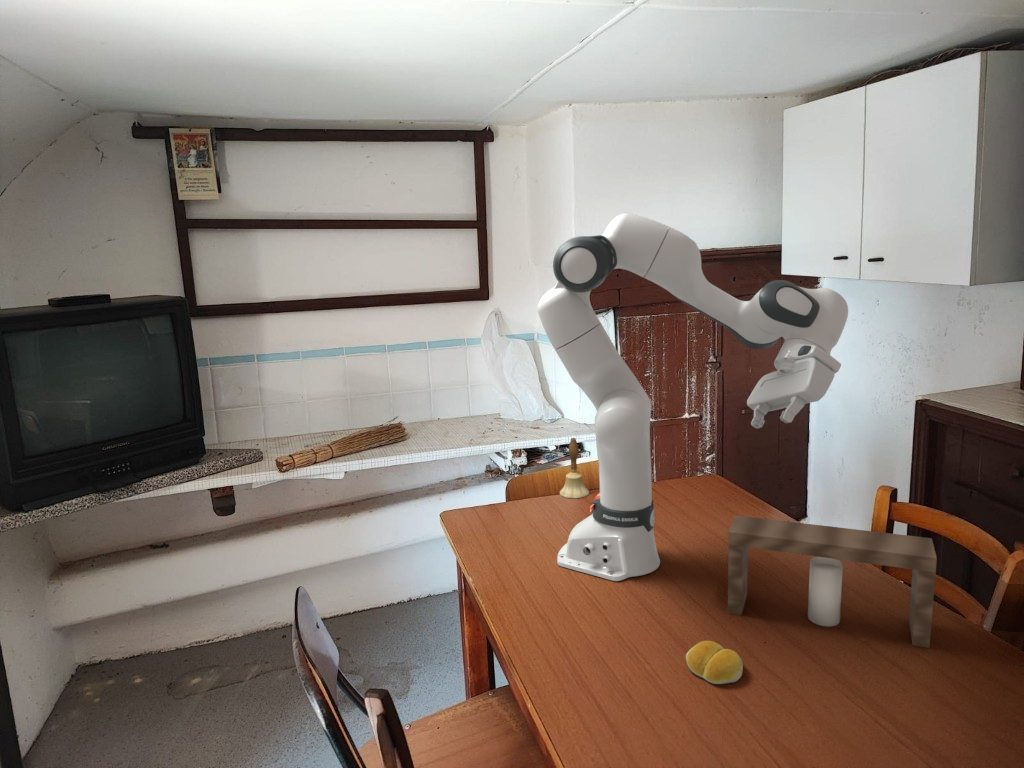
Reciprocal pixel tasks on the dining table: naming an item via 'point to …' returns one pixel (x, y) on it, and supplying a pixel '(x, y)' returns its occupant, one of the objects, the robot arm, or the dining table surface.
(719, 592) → the dining table surface
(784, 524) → the arch
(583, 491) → the hand bell
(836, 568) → the white cylinder
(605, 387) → the robot arm
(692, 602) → the dining table surface
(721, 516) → the dining table surface
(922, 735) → the dining table surface
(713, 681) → the bread roll
